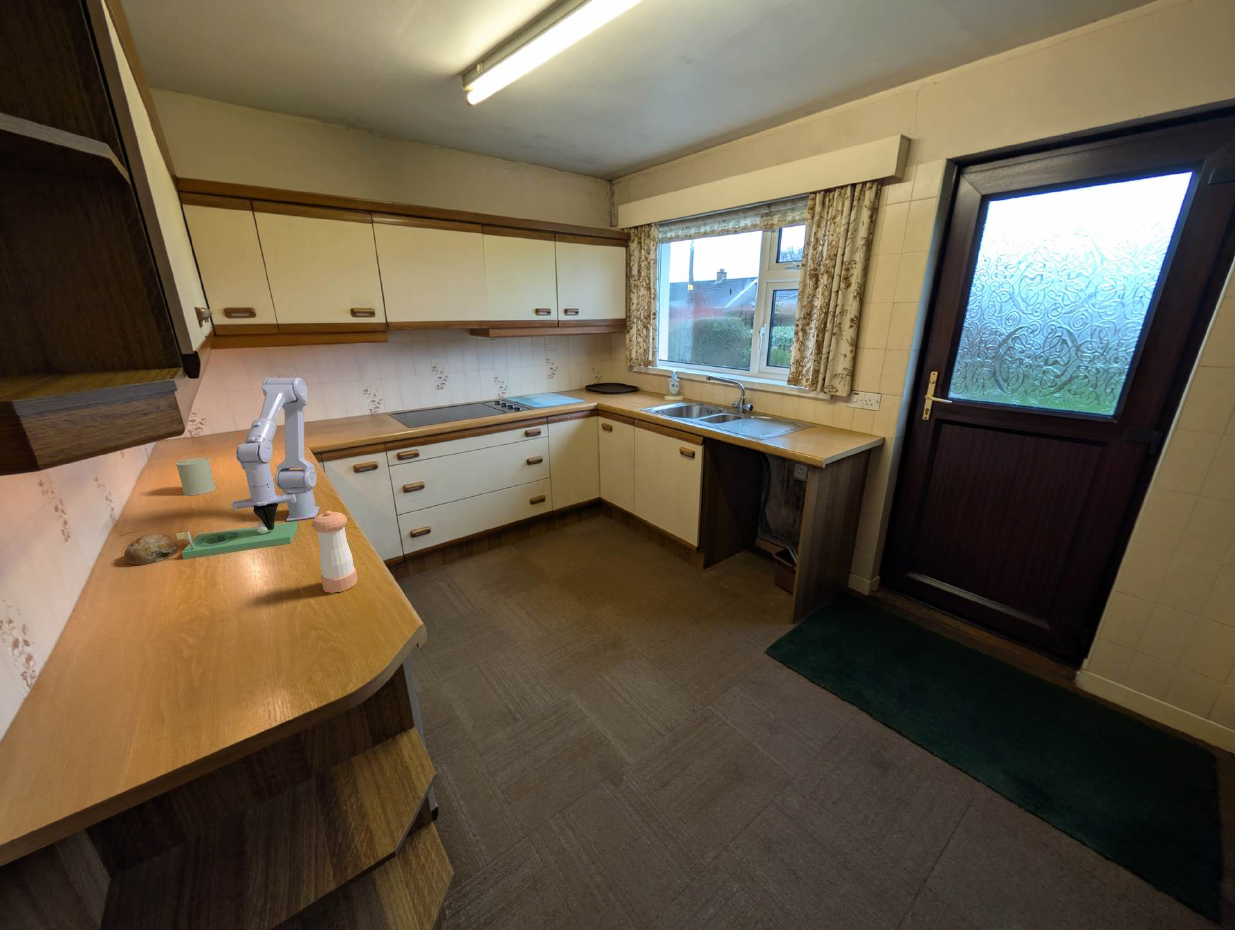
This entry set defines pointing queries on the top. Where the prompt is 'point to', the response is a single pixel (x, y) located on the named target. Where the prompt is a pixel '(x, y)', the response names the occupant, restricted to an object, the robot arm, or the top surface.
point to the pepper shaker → (334, 552)
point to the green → (237, 540)
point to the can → (196, 476)
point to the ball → (261, 528)
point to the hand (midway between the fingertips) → (270, 528)
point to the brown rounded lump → (150, 549)
